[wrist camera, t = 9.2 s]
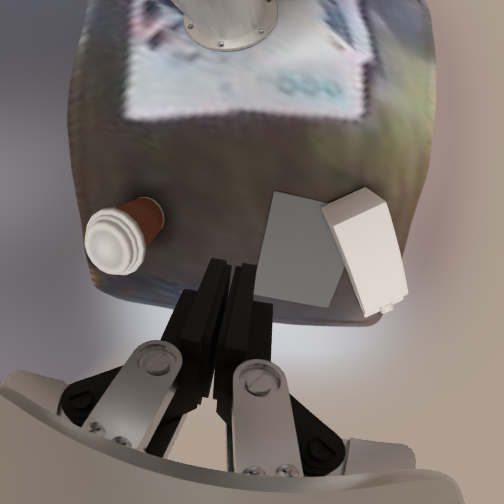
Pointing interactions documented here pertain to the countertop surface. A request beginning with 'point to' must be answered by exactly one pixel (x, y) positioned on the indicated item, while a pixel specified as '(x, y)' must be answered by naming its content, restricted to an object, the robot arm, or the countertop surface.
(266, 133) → the countertop surface
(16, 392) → the robot arm
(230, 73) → the countertop surface
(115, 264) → the coffee cup
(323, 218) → the mat
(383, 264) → the milk carton
